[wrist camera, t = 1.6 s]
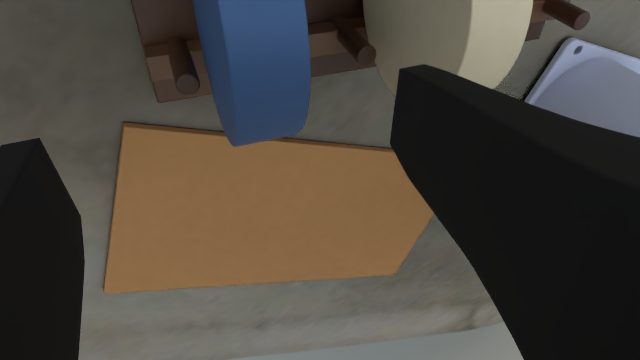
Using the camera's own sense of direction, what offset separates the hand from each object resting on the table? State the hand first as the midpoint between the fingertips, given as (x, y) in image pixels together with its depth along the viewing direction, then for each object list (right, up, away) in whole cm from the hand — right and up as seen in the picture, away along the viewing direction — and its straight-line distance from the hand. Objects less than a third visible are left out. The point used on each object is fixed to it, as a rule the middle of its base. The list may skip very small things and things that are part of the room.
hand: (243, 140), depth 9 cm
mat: (0, -3, +17) cm, 18 cm away
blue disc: (-1, +4, +4) cm, 6 cm away
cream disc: (+5, +5, +6) cm, 9 cm away
